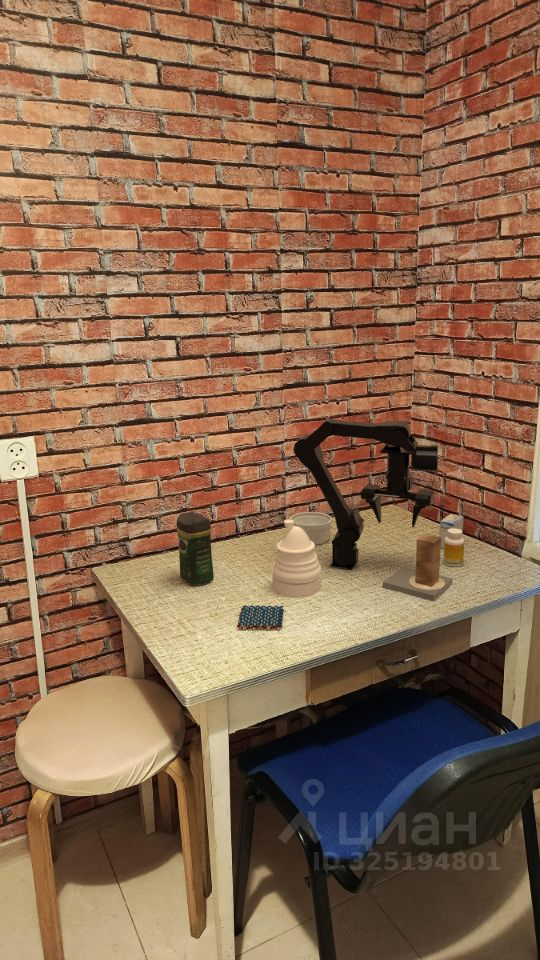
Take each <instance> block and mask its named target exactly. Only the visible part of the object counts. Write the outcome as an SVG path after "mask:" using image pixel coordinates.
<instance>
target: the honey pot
mask: <svg viewBox="0 0 540 960" xmlns="http://www.w3.org/2000/svg"><path fill="white" fill-rule="evenodd" d="M293 524H294V521H293V520H290V519H284V520H283V525H284V527H285V528H286V529H289V530H288V531H287V532H286V534H285V535H284V538H283V539H282V540H280V541H278V542H277V543H276V550H277V552H278V553H277V554H276V556H275V560H274V564H273V566H272V570H271V571H272V589H273V590H274V592H275V593H277V594H279V595H281V596H283V597H288V598H305V597H310V596H313V595H315V594H317V593H319V592H320V591H321V590H322V586H323V585H322V584H323V583H322V582H323V581H322V577H323V576H322V566H321V564H320V562H319V561H320V560H319V558H318V554H317V553H316V551H315V548H316V545H315V544H314V543H313V542H312V541H310V539H309V537H308V536H307V534H306V533H305V531H304V530H303V529H302V528H300V527H298V526H293Z"/></svg>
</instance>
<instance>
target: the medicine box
mask: <svg viewBox="0 0 540 960" xmlns="http://www.w3.org/2000/svg"><path fill="white" fill-rule="evenodd" d="M451 528H456V529H460V530H462V534H463V533H464V532H463V530H464V516H463V515H458V514H455V513H454V514H453V513H449V515H447V516H445V517H444V518H442V520H440V522H439V532H438V533H439V536H438V537H441V550H444V540H445V538H446V537H447V536H448V535H447V530H448V529H451Z"/></svg>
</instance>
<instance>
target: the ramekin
mask: <svg viewBox="0 0 540 960" xmlns="http://www.w3.org/2000/svg"><path fill="white" fill-rule="evenodd" d="M289 520H293V521H294V524H293V526H298V527H300V528H302V529H303V530H304V531H305V533H306V534H307V536H308V537H309V539H310V541H312V542H313V543H314V544H315V546H316V545H321V544H324V543H327V541H328V540H329V539H330V538H331V537H330V536H331V529H332V524H333V518H332V515H329V514H326V513H323V512H320V511H319V512H318V511H305V512H304V511H302V512H297V513H295V514H292V515H291V516H290V517H289Z"/></svg>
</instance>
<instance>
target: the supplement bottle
mask: <svg viewBox="0 0 540 960" xmlns="http://www.w3.org/2000/svg"><path fill="white" fill-rule="evenodd" d="M447 535H448V536H447V537H446V538H445V540H444V549H443V560H442V562H443V563H444V564H445V565H446V566H449V567H460V566H462V565H463V564H464V553H465V539H464V538H463V533H462V530H460V529H456V528H451V529H448V530H447Z"/></svg>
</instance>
